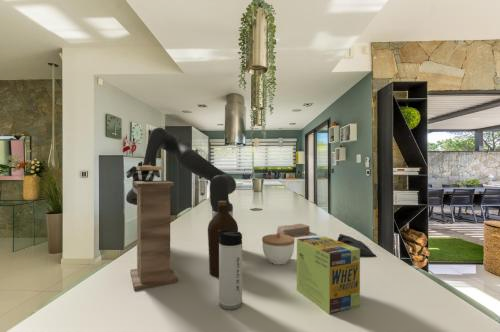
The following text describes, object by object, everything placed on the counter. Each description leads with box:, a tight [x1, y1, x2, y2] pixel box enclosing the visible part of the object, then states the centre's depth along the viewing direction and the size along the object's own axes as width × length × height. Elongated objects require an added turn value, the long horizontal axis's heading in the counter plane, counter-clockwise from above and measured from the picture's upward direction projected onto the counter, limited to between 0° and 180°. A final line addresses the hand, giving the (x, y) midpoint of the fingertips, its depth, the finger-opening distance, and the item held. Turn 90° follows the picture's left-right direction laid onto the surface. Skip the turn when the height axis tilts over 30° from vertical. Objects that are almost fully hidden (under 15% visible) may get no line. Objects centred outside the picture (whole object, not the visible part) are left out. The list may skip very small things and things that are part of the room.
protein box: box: [296, 236, 361, 315], centre depth 78 cm, size 10×15×16 cm
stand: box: [130, 180, 179, 292], centre depth 92 cm, size 15×13×32 cm
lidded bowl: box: [261, 232, 296, 265], centre depth 108 cm, size 13×13×11 cm
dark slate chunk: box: [336, 233, 377, 257], centre depth 124 cm, size 15×22×5 cm
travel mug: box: [218, 230, 243, 311], centre depth 74 cm, size 6×7×20 cm
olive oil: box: [207, 201, 239, 278], centre depth 97 cm, size 11×11×25 cm
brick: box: [276, 223, 311, 237], centre depth 151 cm, size 17×8×5 cm, turn 113°
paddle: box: [135, 165, 165, 171], centre depth 104 cm, size 21×8×2 cm, turn 28°
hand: (146, 163), depth 108 cm, fingers closed on paddle, 3 cm apart
